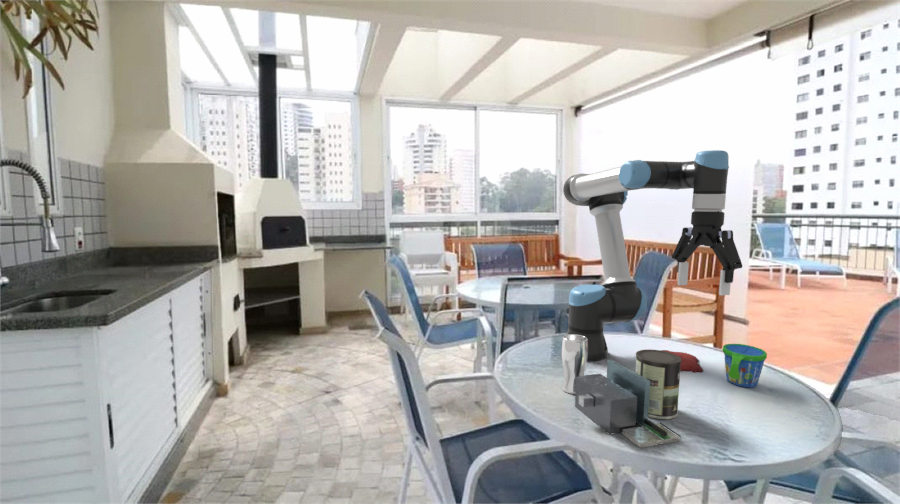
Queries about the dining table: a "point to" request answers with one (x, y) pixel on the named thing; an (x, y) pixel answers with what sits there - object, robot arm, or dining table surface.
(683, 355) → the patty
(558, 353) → the dining table surface
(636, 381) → the blue-grey panel with base
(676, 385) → the coffee can
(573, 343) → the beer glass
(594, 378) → the gauge housing
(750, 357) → the snack cup
